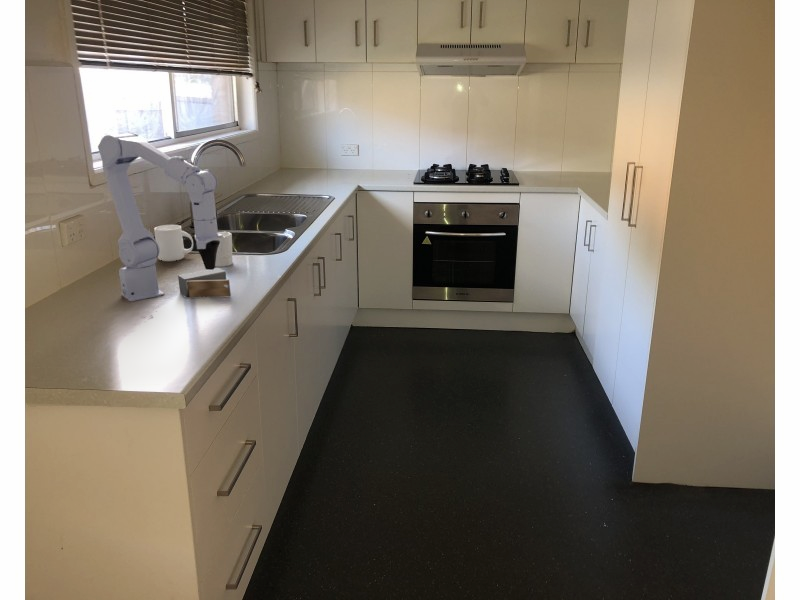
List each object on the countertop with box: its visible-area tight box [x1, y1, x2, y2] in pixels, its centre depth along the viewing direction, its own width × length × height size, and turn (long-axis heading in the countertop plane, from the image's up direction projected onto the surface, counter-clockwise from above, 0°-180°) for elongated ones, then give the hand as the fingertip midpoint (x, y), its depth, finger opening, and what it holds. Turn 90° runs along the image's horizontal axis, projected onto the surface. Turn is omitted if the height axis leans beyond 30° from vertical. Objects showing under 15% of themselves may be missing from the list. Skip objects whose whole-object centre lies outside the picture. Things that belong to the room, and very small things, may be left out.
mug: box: [153, 224, 194, 262], centre depth 215 cm, size 9×12×11 cm
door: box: [185, 279, 232, 299], centre depth 176 cm, size 12×2×5 cm, turn 94°
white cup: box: [215, 231, 234, 268], centre depth 208 cm, size 8×8×10 cm
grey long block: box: [177, 267, 227, 298], centre depth 182 cm, size 12×5×5 cm, turn 129°
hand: (210, 268), depth 169 cm, fingers closed
